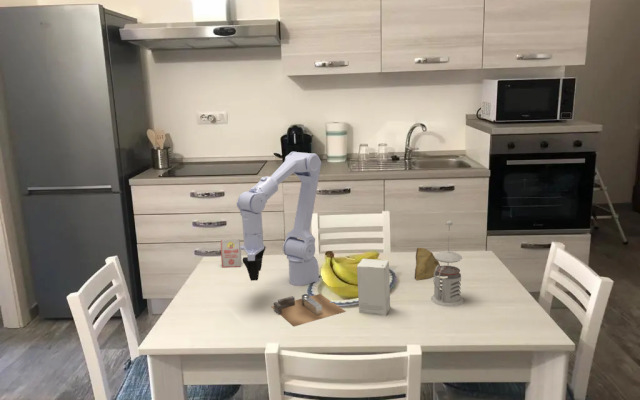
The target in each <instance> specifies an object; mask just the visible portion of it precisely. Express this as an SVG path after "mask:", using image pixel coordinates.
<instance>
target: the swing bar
mask: <svg viewBox="0 0 640 400" xmlns="http://www.w3.org/2000/svg"><path fill="white" fill-rule="evenodd" d="M310 296H311V295H310V294H307V293H304V294H301V299H302V305H303V306H305V307H306V308H308V309H309V310H310V311H311V312H313V313H314V314H315V315H318V314H322V305H320V304H319V303H318V302H316V301H315V300H313V299H312V298H311V297H310Z"/></svg>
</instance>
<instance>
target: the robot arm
mask: <svg viewBox="0 0 640 400" xmlns="http://www.w3.org/2000/svg"><path fill="white" fill-rule="evenodd" d="M284 157H285V158H284V161H283V163H282V164H281V165H280V166H279V167H278V168H277V169H276V170H275V171H274V172H273V173H272V174H271V175H270V176H269V175H266V176H262V177H261V178H260V179H259V181H258V182H257V183H256V184H255V185H253V186H252V187H251V188H250V189H249V190H248V191H243V192H242V193H240V195H238V197H237V202H236V207H237V208H238V210H239V212H240V213H239V214H240V215H241V219H242V220H241V221H242V223H241V224H242V231H243V232H242V234H243V245H240V249H241V251H242V250H243V251H244V252H245V253H246V255H247V256H245V257H242V264H244V266H245V268H246V270H247V273H248V276H249V277H248V278H249V280H250V281H251V282H252V281H258V280H259V275H260V271H262V266H263V264H262V263H263V259H264V257H263V256H264V254H265V252H266V249H267V247H266V246H265V244H264V231H263V217H262V216H263V215H262V214H263V213H262V212H263V211H264V209H265V207H266V204H267V203H268V201H269V200H270V198H272V197H273V196H274V195H275V194H276V192H278V191H279V185H280V184H281V183H283V181H285V180H286V179H287V178H289V177H290V176H292V174H294V175H295V176H296V177H297V178H298V179H299V181H300V182H301V183H300V189H299V196H298V201H297V205H296V206H297V207H296V210H295V211H296V212H295V217H294V222H293V228H292V229H291V230H289V232H287V233H286V237H285V240H284V242H283V244H282V251H283V254H284V255H285V256H286V259H287V260H288V276H289V279H288V281H289V284H291V285H292V286H298V287H299V286H300V287H302V286H308V285H309V284H312V283H317V282H319V281H320V274H319V269H320V267H319V262H318V259H317V257H316V256H315V254H316V244H315V243H316V238H315V236H314V235H313V234H312V233H311V225H312V220H313V214H314V208H315V204H316V196H317V190H318V185H319V178H320V172H321V166H322V161H321V159H320V157H319V155H318V154H317V153H314V152H313V153H310V152H309V153H308V152H299V151H298V152H297V151H295V150H294V151H291V152H290V153H289V154H287V155H286V156H284Z"/></svg>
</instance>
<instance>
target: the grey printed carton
mask: <svg viewBox="0 0 640 400" xmlns="http://www.w3.org/2000/svg"><path fill="white" fill-rule="evenodd" d="M240 247H241V243H240V239H221V240H220V260H221V268H223V269H224V268H226V269H228V268H241V267H242V264H243V259H242V250H241V249H240Z"/></svg>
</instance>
